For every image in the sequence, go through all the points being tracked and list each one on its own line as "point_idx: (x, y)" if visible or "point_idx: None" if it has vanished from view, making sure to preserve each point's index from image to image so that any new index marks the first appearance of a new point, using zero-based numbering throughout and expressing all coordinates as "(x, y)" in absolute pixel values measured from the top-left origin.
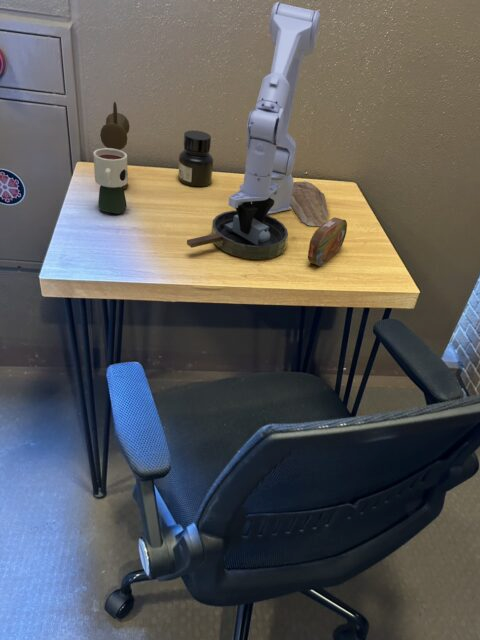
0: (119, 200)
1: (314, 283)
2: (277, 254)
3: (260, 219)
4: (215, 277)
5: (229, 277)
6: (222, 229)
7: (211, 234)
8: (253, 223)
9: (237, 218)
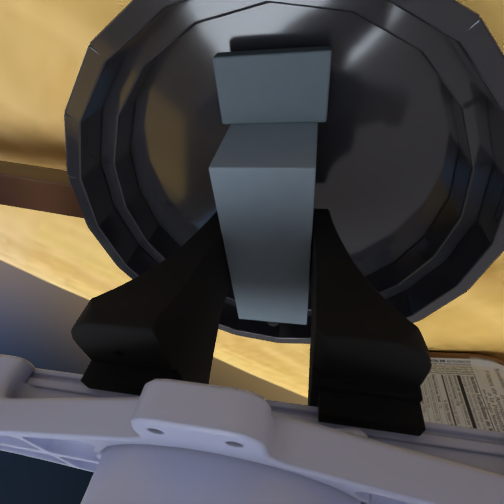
0: None
1: (274, 372)
2: None
3: (311, 295)
4: (51, 261)
5: (90, 278)
6: (226, 20)
7: (34, 182)
8: (258, 280)
9: (216, 197)
